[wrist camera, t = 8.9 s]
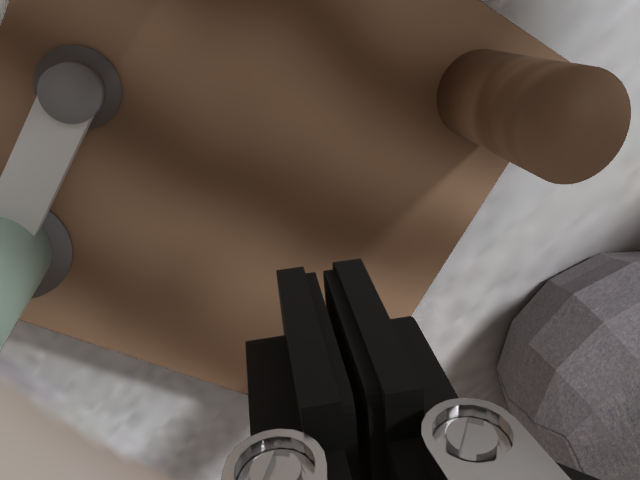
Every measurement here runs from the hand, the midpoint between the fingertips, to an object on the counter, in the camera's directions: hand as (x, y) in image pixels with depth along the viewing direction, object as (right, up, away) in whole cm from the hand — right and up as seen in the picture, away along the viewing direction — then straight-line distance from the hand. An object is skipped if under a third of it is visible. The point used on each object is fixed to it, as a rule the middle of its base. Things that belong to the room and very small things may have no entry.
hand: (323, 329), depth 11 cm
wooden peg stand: (-3, +6, +14) cm, 16 cm away
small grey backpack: (+18, -6, +24) cm, 30 cm away
